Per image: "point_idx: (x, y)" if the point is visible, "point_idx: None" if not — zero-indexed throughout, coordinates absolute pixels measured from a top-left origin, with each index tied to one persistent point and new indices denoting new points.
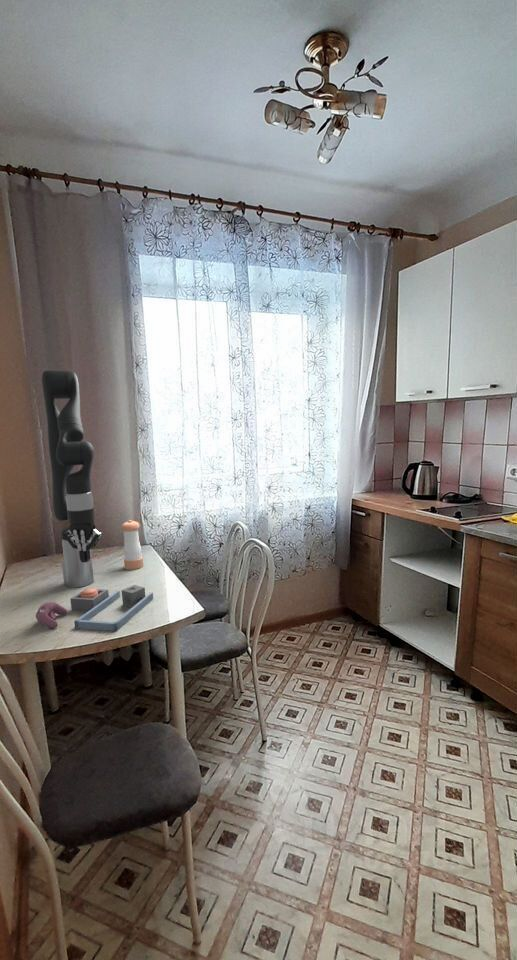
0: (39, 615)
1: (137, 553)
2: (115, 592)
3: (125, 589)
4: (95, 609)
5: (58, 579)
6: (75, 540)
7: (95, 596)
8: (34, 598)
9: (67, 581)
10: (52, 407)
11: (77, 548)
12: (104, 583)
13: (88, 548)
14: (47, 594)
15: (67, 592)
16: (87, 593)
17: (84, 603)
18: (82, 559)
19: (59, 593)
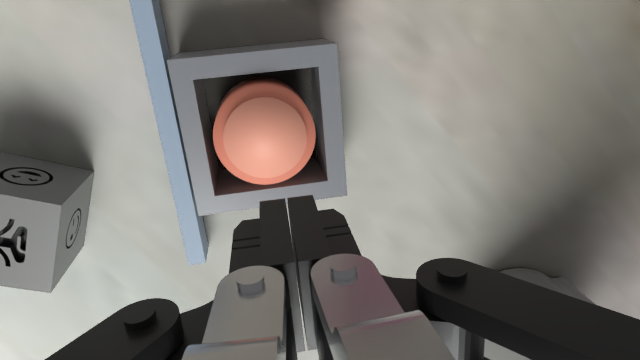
0: None
1: None
2: (196, 244)
3: (43, 220)
4: (135, 26)
5: None
6: (444, 353)
7: (195, 110)
8: (618, 123)
9: (552, 284)
10: None
11: (398, 284)
12: None
13: (159, 306)
14: (582, 178)
15: (499, 221)
16: (245, 101)
17: (237, 51)
18: (295, 208)
19: (530, 202)
